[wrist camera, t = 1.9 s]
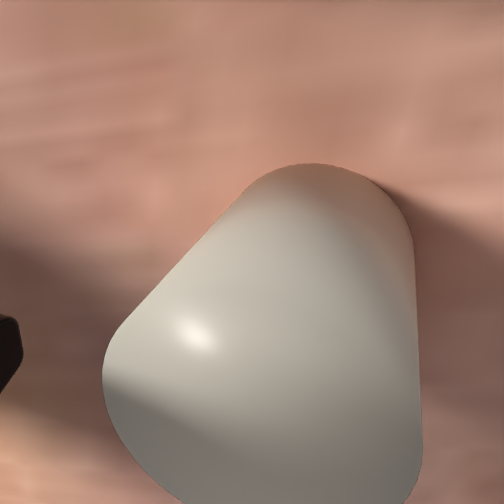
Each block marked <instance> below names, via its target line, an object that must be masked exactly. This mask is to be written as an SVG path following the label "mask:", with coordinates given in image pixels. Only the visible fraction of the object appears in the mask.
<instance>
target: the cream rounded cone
mask: <svg viewBox="0 0 504 504" xmlns="http://www.w3.org/2000/svg"><path fill="white" fill-rule="evenodd" d="M102 388H103V394H104V401H105V404H106V407H107V411H108V414H109V417H110V419H111V421H112V424H113V426H114V428H115V430H116V432H117V434H118V436H119V437H120V439H121V441H122V443H123V444H124V446H125V447H126V448H127V450H128V451H129V453H130V454H131V455H132V457H133V458H134V459H135V460H136V462H137V463H138V464H139V465H140V466H141V467H142V468H143V470H144V471H145V472H146V473H147V474H148V475H150V476H151V477H152V478H153V479H154V480H155V481H156V482H157V483H158V484H159V485H160V486H162V487H163V488H164V489H165V490H167V491H168V492H169V493H170V494H172V495H173V496H175V497H176V498H177V499H179V500H180V501H182V502H183V503H185V504H403V502H404V501H405V500H406V499H407V497H408V496H409V495H410V493H411V491H412V489H413V487H414V485H415V483H416V481H417V479H418V475H419V472H420V468H421V465H422V453H423V437H422V415H421V392H420V369H419V347H418V324H417V301H416V279H415V256H414V245H413V240H412V236H411V232H410V229H409V227H408V224H407V222H406V220H405V218H404V216H403V214H402V213H401V211H400V209H399V208H398V206H397V205H396V204H395V203H394V202H393V200H392V199H391V198H390V197H389V196H388V195H387V194H386V193H385V192H384V191H383V190H382V189H381V188H380V187H378V186H377V185H375V184H374V183H373V182H371V181H370V180H368V179H366V178H365V177H363V176H361V175H359V174H357V173H355V172H352V171H350V170H347V169H344V168H341V167H336V166H332V165H326V164H317V163H311V164H297V165H291V166H287V167H283V168H280V169H277V170H274V171H272V172H270V173H268V174H266V175H264V176H262V177H261V178H259V179H258V180H256V181H255V182H253V183H252V184H251V185H250V186H249V187H248V188H246V189H245V191H244V192H243V193H242V194H241V195H240V196H239V197H238V198H237V199H236V200H235V201H234V202H233V204H232V205H231V206H230V207H229V208H228V209H227V210H226V211H225V212H224V213H223V214H222V215H221V217H220V218H219V219H218V220H217V221H216V222H215V223H214V224H213V225H212V226H211V227H210V229H209V230H208V231H207V232H206V233H205V234H204V235H203V236H202V237H201V238H200V239H199V240H198V242H197V243H196V244H195V245H194V246H193V247H192V248H191V249H190V250H189V251H188V252H187V253H186V255H185V256H184V257H183V258H182V259H181V260H180V261H179V262H178V263H177V264H176V265H175V266H174V268H173V269H172V270H171V271H170V272H169V273H168V274H167V275H166V276H165V277H164V278H163V280H162V281H161V282H160V283H159V284H158V285H157V286H156V287H155V288H154V289H153V290H152V291H151V293H150V294H149V295H148V296H147V297H146V298H145V299H144V300H143V301H142V302H141V303H140V304H139V306H138V307H137V308H136V309H135V310H134V311H133V312H132V313H131V314H130V315H129V316H128V318H127V319H126V320H125V321H124V322H123V323H122V324H121V325H120V327H119V328H118V329H117V331H116V332H115V334H114V336H113V337H112V339H111V341H110V343H109V346H108V348H107V351H106V354H105V357H104V363H103V369H102Z"/></svg>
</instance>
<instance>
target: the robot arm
mask: <svg viewBox="0 0 504 504" xmlns="http://www.w3.org/2000/svg"><path fill="white" fill-rule="evenodd" d="M22 359H23V347H22V341H21V336H20V331H19V325H18V322H17V321H16V320H15V318H13V317H10V316H6V315H2V314H0V393H1V392H2V391H3V389H4V388H5V386H6V385H7V383H8V382H9V381H10V379H11V378H12V376H13V375H14V374H15V372H16V371H17V369H18V368H19V366H20V364H21V362H22Z"/></svg>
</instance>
